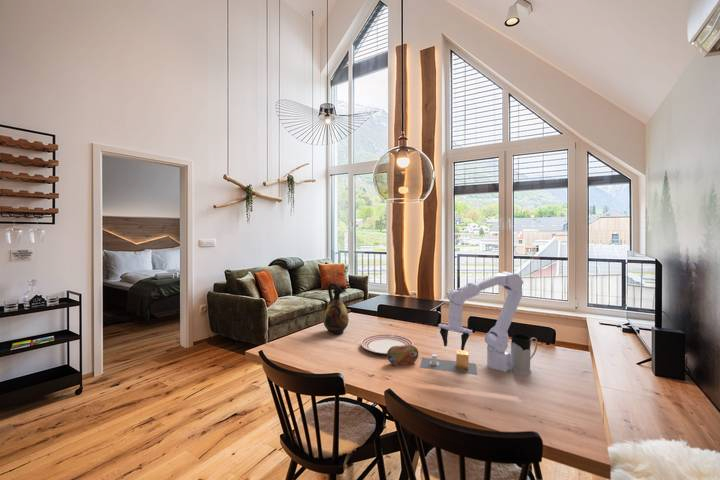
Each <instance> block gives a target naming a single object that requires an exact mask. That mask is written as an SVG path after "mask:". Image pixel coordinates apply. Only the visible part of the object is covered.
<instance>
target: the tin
mask: <svg viewBox="0 0 720 480" xmlns="http://www.w3.org/2000/svg"><path fill="white" fill-rule="evenodd" d="M386 358H387V361H388V362H389V363H390V364H391V365H392V366H402V365H410V364H413V363H415V362H416V361H417V360H418V358H419V350H418V349H417V347H416V346H414V345H413V346H412V345H400V346H393V347H391V348H390V349H389V350H388V352H387V354H386Z"/></svg>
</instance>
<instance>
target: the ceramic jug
mask: <svg viewBox="0 0 720 480" xmlns="http://www.w3.org/2000/svg"><path fill="white" fill-rule="evenodd" d="M332 287H334V289H333V290H332ZM327 289H328V290H327V292H328V297H329V303H328V306H327V307H326V309H325V311H324V315H323V318H322V319H323V321H322V322H323V325H324V327H325V328H326V330H327V333H328V334H329V335H332V336H339V335H342V334H344V331H345V330H346V328H347V327H348V325H349V322H350V318H349V312H348V309H347V308H346V306H345V304H344V302H343V301H342V299H341V296H340V295H341V294H344V293H346V292H347V290H346V288H345V287H344V286H343V285H342V286H339V284H338V283H336V282H331V283H329V285H328V287H327Z"/></svg>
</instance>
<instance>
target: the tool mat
mask: <svg viewBox="0 0 720 480" xmlns="http://www.w3.org/2000/svg"><path fill="white" fill-rule="evenodd" d="M419 368H420V369H427V370H436V371H442V372H452V373H461V374H467V375H469V374H470V375H474V376H477V375H478V369H477V364H476V363H473V362H468V370H462V369H456V361H455V360H450V359H448V360H447V359H440V358H439V359H438V354H436V353H432V354H431V357H421V360H420V365H419Z"/></svg>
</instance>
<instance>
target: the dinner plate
mask: <svg viewBox="0 0 720 480" xmlns="http://www.w3.org/2000/svg"><path fill="white" fill-rule="evenodd" d="M360 344H361V347H362V348H364V350H367V351H370V352H373V353H376V354H381V355H387V352H388V350H389V349H390V348H391V347H393V346H400V345H412V346H414V342H413V341H412V340H411V339H410V338H408V337H405V336H402V335H399V334H393V333H391V334H390V333H380V334H373V335H370V336H366V337H365V338H363V339H362V340H361V342H360Z"/></svg>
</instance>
